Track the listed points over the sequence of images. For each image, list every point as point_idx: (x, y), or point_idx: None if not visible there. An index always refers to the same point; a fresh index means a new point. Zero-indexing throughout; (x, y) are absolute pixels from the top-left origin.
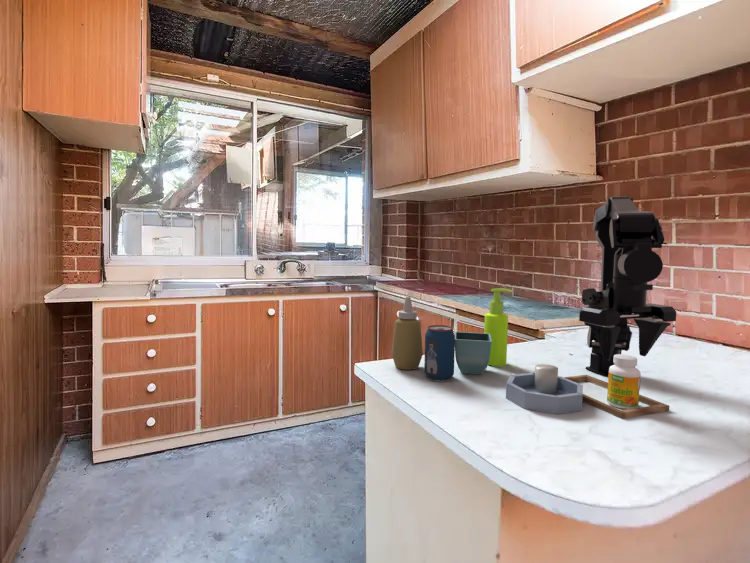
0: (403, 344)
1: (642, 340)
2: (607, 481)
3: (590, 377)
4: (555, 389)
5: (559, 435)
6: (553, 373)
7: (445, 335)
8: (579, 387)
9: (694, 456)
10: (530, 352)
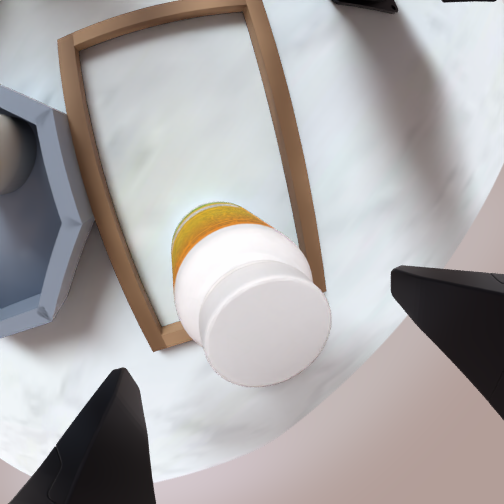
0: None
1: (460, 311)
2: None
3: (254, 15)
4: (16, 185)
5: (13, 398)
6: None
7: None
8: (59, 253)
9: (202, 450)
10: None
